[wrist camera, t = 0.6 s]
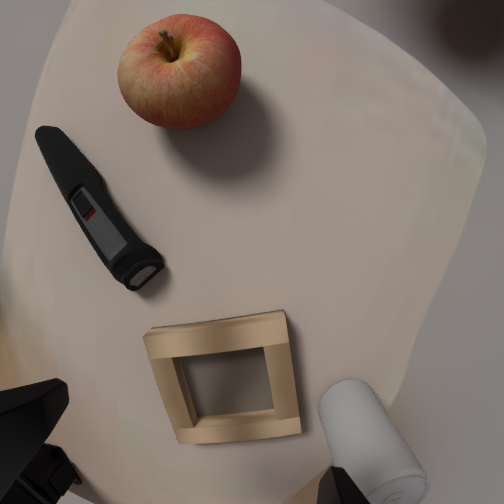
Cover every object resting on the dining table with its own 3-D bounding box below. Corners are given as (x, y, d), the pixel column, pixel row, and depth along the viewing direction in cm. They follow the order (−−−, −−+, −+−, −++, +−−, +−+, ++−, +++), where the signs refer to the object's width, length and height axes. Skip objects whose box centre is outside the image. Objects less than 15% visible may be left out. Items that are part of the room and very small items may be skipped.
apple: (152, 52, 20) (116, -3, 12) (249, 52, 20) (246, -13, 12) (132, 140, 21) (78, 106, 13) (236, 145, 21) (225, 103, 13)
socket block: (183, 430, 23) (179, 444, 21) (151, 327, 22) (142, 336, 20) (298, 418, 23) (301, 433, 21) (283, 309, 22) (285, 317, 20)
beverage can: (313, 423, 23) (341, 533, 11) (320, 377, 22) (361, 487, 10) (365, 419, 23) (414, 516, 11) (376, 373, 22) (444, 466, 10)
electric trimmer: (71, 121, 21) (51, 110, 18) (170, 262, 22) (156, 267, 19) (43, 151, 21) (22, 144, 18) (136, 292, 22) (118, 302, 19)
